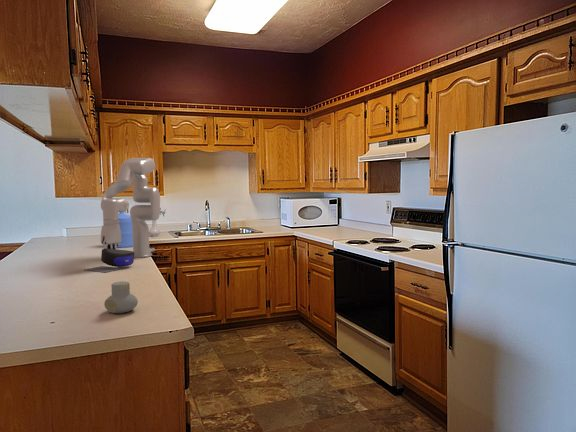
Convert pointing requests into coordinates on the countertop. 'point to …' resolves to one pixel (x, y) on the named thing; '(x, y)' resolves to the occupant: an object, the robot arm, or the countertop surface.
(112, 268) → the mat
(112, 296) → the air freshener
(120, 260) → the leaning round-cornered charcoal block
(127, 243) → the water jug
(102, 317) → the countertop surface
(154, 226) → the flower vase
